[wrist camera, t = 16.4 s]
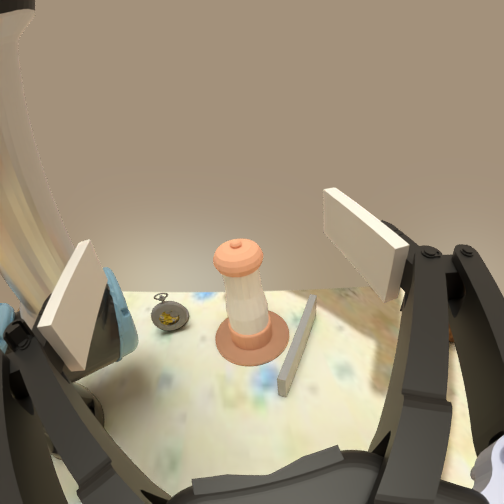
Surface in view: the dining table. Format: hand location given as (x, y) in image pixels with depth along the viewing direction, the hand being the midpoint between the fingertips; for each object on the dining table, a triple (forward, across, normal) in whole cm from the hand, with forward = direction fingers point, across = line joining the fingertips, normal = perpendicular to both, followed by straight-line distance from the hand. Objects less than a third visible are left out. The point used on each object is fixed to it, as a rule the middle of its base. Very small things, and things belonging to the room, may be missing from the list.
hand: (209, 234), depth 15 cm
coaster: (+20, +3, -32) cm, 38 cm away
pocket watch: (+28, -11, -32) cm, 44 cm away
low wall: (+14, +10, -32) cm, 36 cm away
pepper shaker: (+20, +3, -32) cm, 38 cm away
